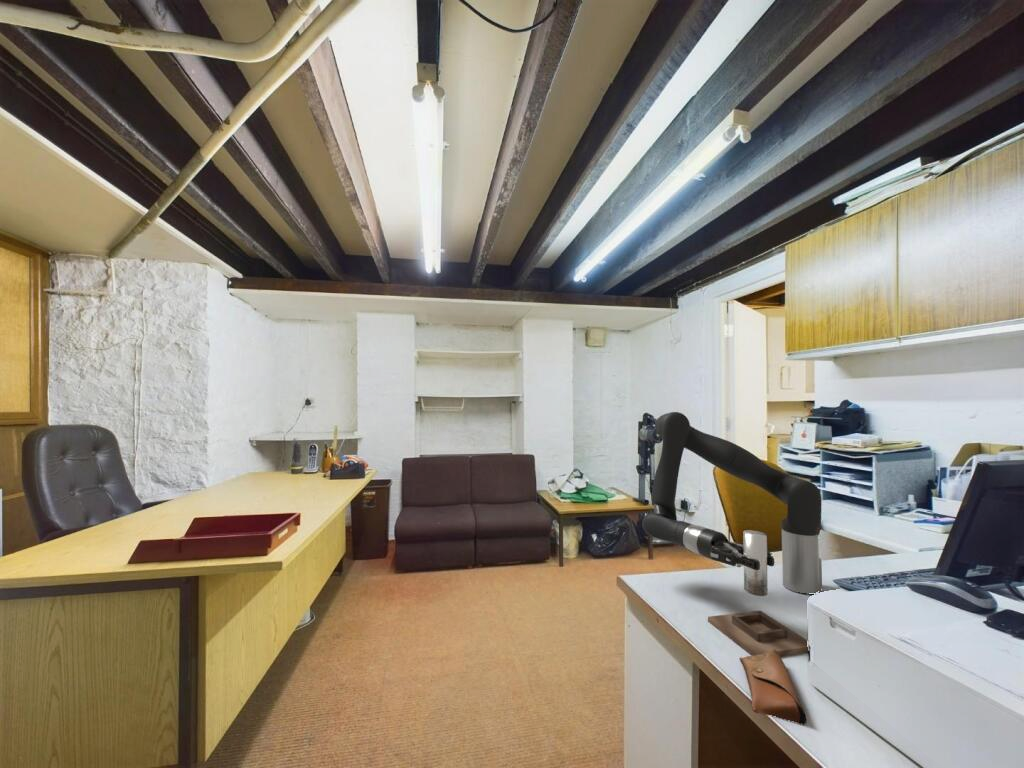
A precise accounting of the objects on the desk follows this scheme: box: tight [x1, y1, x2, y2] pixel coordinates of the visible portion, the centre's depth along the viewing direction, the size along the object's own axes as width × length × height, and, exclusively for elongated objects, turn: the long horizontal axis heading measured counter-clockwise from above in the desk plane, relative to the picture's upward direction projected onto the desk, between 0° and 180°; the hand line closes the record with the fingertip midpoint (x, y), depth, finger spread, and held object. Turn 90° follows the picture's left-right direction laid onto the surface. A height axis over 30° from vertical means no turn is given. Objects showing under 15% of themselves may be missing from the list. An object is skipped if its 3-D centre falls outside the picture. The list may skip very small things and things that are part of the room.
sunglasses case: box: [739, 649, 808, 726], centre depth 81 cm, size 18×7×7 cm, turn 160°
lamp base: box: [707, 610, 808, 657], centre depth 99 cm, size 16×16×3 cm
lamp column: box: [742, 529, 769, 597], centre depth 100 cm, size 5×5×14 cm
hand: (765, 563), depth 98 cm, fingers closed on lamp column, 5 cm apart
